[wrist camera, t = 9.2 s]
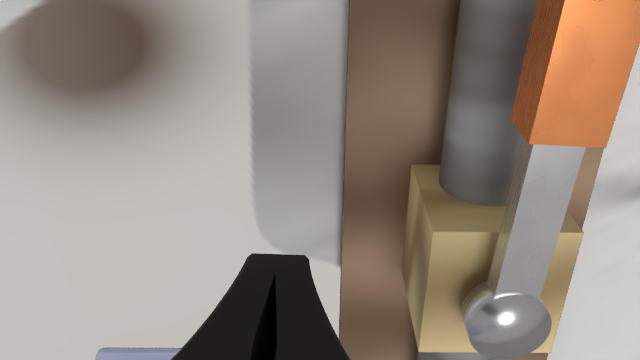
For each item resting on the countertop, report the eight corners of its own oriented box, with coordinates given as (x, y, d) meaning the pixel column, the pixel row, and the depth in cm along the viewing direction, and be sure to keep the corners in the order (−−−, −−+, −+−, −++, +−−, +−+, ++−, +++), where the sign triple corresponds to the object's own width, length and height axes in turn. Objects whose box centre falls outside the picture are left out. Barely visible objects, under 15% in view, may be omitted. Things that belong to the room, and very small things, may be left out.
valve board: (524, 402, 30) (569, 516, 24) (336, 401, 30) (340, 515, 24) (654, -102, 19) (790, -95, 13) (352, -105, 19) (366, -98, 13)
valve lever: (527, 332, 19) (543, 368, 18) (453, 329, 19) (463, 364, 18) (649, -69, 13) (687, -64, 12) (541, -76, 13) (568, -70, 12)
